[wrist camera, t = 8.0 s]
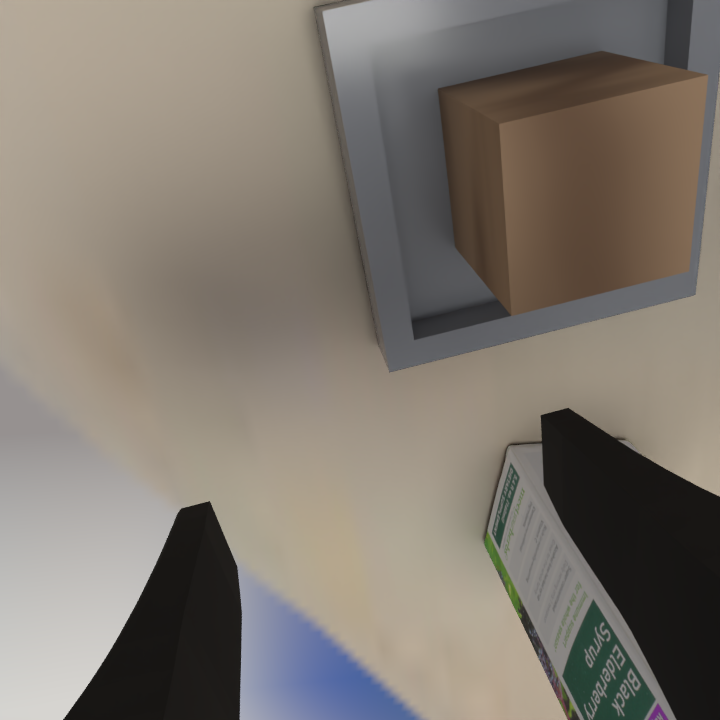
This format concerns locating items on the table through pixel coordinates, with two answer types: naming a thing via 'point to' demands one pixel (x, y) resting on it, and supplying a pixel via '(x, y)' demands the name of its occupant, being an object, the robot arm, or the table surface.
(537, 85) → the walnut cube
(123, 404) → the table surface
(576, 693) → the syrup box
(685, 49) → the grey dish
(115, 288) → the table surface
